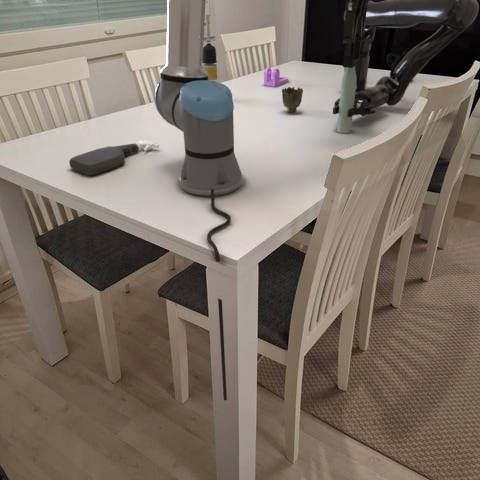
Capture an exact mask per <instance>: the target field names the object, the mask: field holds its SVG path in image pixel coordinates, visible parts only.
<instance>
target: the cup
mask: <svg viewBox="0 0 480 480" xmlns="http://www.w3.org/2000/svg"><path fill="white" fill-rule="evenodd" d="M303 92H304V89H303V87H301V88H300V87H297V89H295V87H294V86H292V87H290V86H288V87H284V88H282V89H281V97H282V104H283V106H284V107H285V108H286V109H285V110H286V112H287V113H289V114H290V113H291V114H294V113H296V112H297V110H298V109H297V108H299V107H300V106H301V103H302V98H303V94H304V93H303Z"/></svg>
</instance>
